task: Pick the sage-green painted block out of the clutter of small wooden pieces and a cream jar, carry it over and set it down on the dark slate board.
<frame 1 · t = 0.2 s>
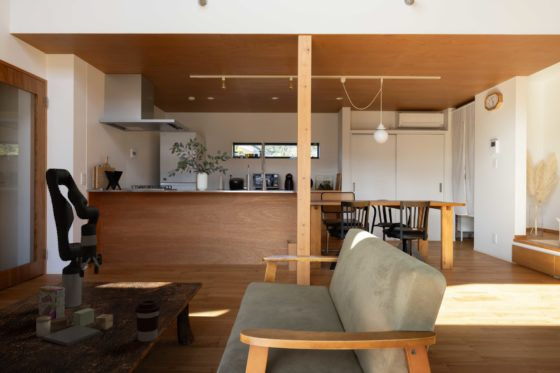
hand: (89, 275, 190), 17 cm above the table, fingers open, 8 cm apart
board: (72, 336, 154), on the table
sage block: (83, 324, 168), on the table
coffee cup: (147, 339, 151), on the table
oak cube: (104, 327, 164), on the table
cream jar: (43, 334, 156), on the table
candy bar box: (51, 323, 169), on the table
walnut block: (57, 328, 162), on the table
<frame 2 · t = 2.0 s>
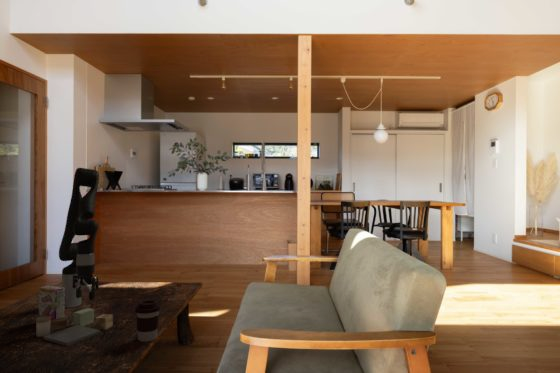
hand: (85, 298, 169), 11 cm above the table, fingers open, 8 cm apart
nothing on the table moved.
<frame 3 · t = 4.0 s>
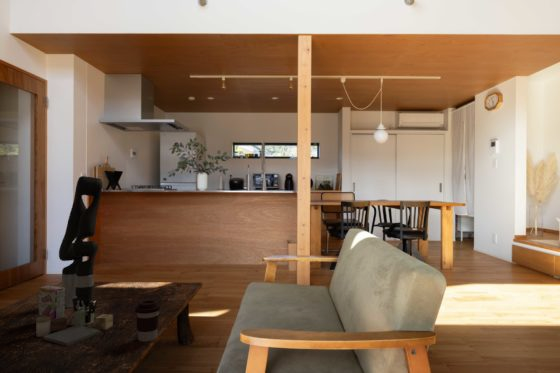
hand: (84, 321, 168), 1 cm above the table, fingers closed on sage block, 4 cm apart
sage block: (83, 323, 168), on the table, touching gripper
everything else where it was.
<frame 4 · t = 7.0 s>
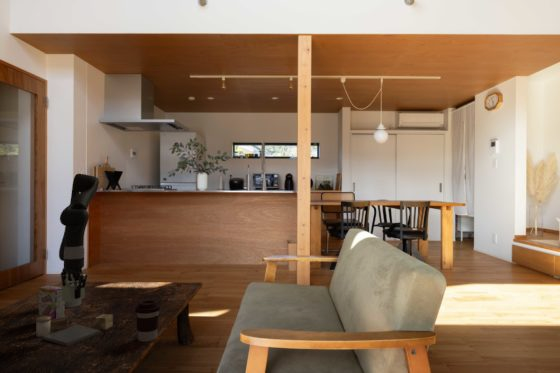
hand: (73, 297, 154), 16 cm above the table, fingers closed on sage block, 4 cm apart
sage block: (73, 299, 154), point 15 cm above the table, touching gripper
everything else where it was.
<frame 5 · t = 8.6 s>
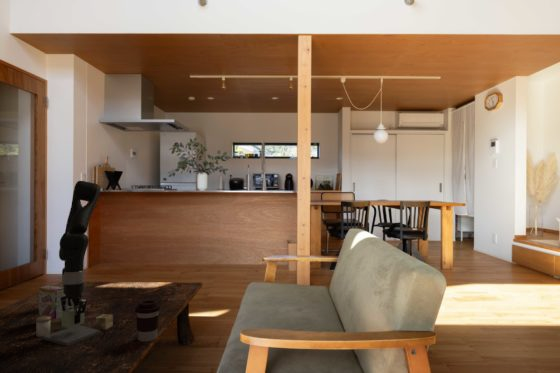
hand: (73, 322, 154), 6 cm above the table, fingers closed on sage block, 4 cm apart
sage block: (73, 324, 154), point 5 cm above the table, touching gripper
everything else where it was.
when the fingers open (3 cm above the table, at t = 10.0 s): sage block drops 1 cm, resting on board.
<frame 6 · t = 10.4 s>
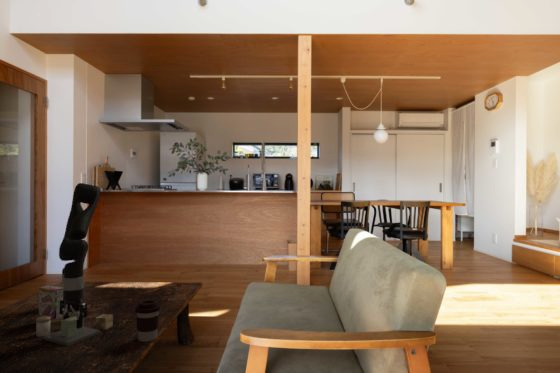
hand: (72, 326, 154), 4 cm above the table, fingers open, 8 cm apart
sage block: (72, 333, 154), point 1 cm above the table, touching board
everything else where it was.
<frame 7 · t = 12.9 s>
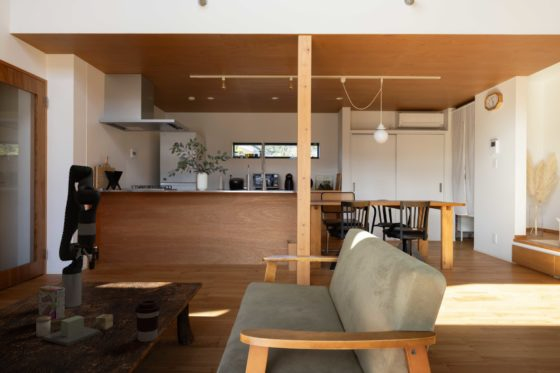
hand: (85, 268, 168), 26 cm above the table, fingers open, 8 cm apart
nothing on the table moved.
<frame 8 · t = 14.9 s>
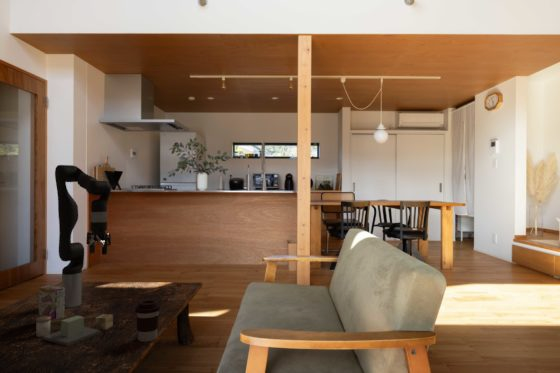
hand: (98, 253, 181), 30 cm above the table, fingers open, 8 cm apart
nothing on the table moved.
at the end: sage block inside the target area on the board (0.1 cm from its centre), point 1.2 cm above the board's base; sage block tilted 0°; the gripper is holding nothing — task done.
